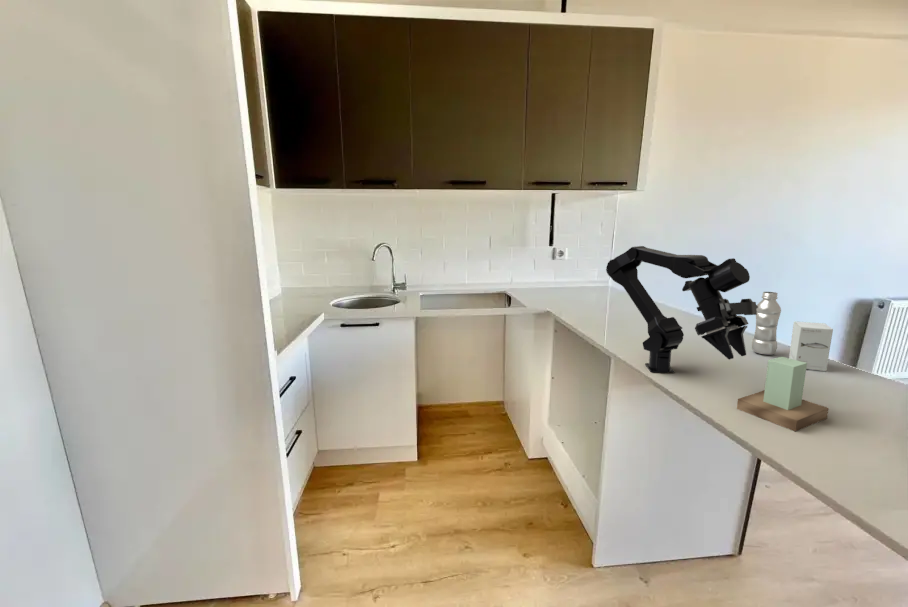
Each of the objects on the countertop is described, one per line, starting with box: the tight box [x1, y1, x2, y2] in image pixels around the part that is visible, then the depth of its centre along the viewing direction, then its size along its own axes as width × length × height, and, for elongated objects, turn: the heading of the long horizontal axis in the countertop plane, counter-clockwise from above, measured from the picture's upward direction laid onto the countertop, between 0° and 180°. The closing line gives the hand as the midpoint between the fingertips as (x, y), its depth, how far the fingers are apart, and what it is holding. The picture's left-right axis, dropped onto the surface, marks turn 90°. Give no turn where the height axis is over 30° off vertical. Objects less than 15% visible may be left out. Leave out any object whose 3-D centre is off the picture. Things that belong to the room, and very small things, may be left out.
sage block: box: [763, 356, 807, 410], centre depth 92 cm, size 5×5×10 cm
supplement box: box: [788, 320, 834, 372], centre depth 119 cm, size 7×7×13 cm
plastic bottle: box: [751, 291, 782, 356], centre depth 130 cm, size 6×7×20 cm
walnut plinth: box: [736, 389, 829, 432], centre depth 93 cm, size 12×12×2 cm
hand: (737, 357), depth 101 cm, fingers open, 9 cm apart
